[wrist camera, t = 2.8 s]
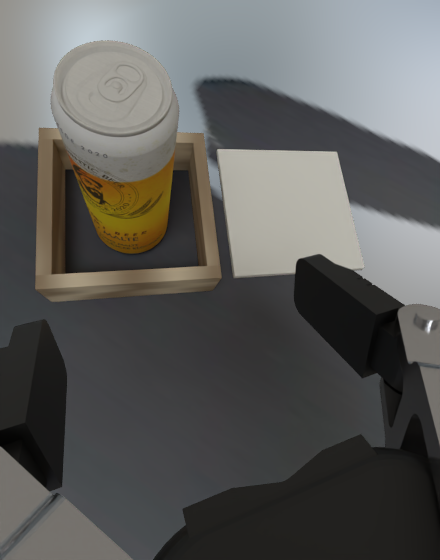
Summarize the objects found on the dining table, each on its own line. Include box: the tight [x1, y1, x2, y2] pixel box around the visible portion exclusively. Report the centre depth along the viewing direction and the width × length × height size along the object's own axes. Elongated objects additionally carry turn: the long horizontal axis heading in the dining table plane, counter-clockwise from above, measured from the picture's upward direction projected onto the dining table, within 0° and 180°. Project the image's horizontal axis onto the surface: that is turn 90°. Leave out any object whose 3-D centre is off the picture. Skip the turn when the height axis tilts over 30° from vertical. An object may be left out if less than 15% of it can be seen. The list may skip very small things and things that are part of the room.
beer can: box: [51, 41, 179, 254], centre depth 23 cm, size 6×6×15 cm
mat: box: [216, 149, 365, 278], centre depth 33 cm, size 13×13×1 cm
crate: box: [35, 128, 222, 302], centre depth 28 cm, size 13×13×4 cm
